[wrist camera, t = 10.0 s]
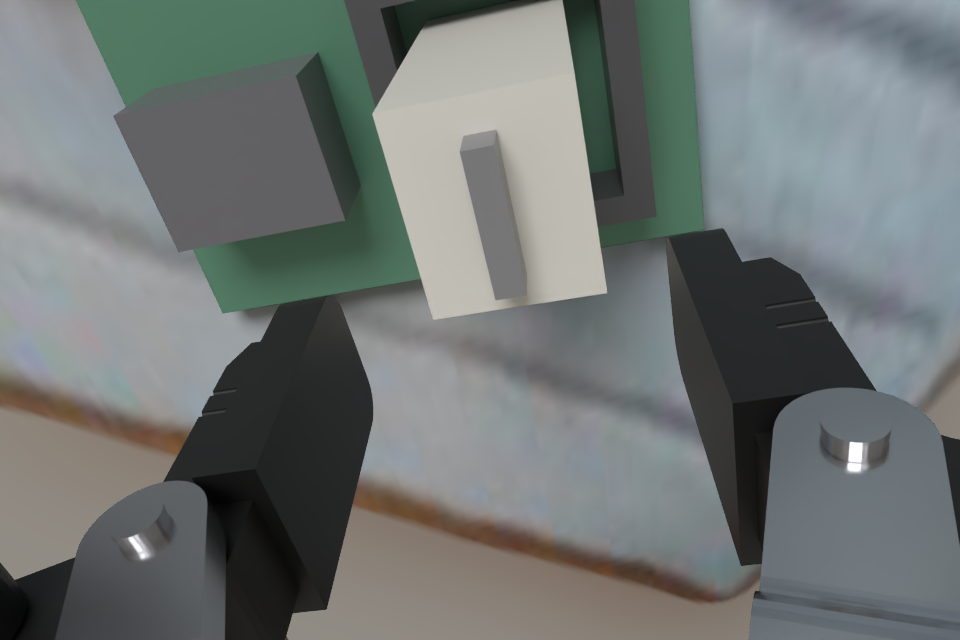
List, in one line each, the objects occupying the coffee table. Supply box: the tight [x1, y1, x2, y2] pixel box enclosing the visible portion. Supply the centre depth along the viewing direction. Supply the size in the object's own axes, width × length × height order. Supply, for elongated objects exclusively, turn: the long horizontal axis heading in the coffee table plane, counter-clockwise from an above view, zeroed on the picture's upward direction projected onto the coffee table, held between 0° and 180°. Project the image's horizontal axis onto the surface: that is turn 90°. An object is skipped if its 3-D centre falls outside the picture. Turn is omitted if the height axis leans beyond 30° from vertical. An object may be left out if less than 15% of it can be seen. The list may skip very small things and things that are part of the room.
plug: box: [372, 0, 607, 320], centre depth 17 cm, size 4×4×9 cm
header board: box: [76, 0, 704, 313], centre depth 21 cm, size 16×11×4 cm
